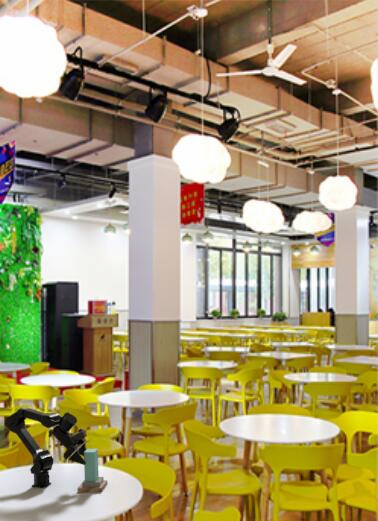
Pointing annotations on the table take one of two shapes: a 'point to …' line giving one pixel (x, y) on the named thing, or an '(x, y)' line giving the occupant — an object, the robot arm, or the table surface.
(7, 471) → the table surface
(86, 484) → the charcoal tile
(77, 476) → the table surface
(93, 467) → the teal pillar
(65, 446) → the robot arm
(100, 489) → the walnut slab
